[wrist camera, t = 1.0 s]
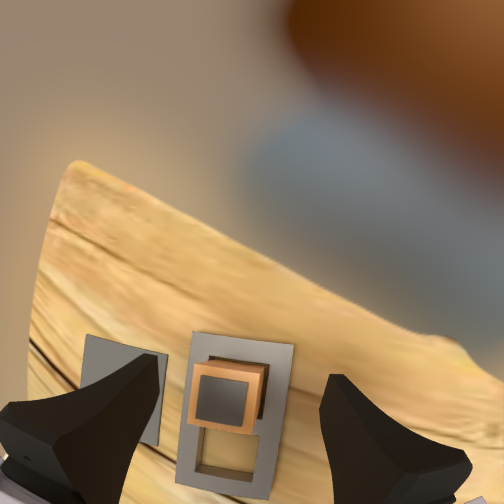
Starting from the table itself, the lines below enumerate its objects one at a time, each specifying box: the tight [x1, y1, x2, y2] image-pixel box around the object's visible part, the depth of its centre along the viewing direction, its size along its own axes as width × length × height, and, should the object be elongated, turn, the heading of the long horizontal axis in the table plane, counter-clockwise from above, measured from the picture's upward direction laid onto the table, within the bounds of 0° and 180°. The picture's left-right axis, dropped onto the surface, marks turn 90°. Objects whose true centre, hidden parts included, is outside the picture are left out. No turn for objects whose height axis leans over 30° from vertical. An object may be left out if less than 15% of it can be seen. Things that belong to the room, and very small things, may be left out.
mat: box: [80, 334, 168, 447], centre depth 24 cm, size 9×9×1 cm
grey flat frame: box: [175, 331, 294, 500], centre depth 22 cm, size 14×8×2 cm, turn 172°
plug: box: [187, 359, 266, 435], centre depth 20 cm, size 4×4×8 cm
